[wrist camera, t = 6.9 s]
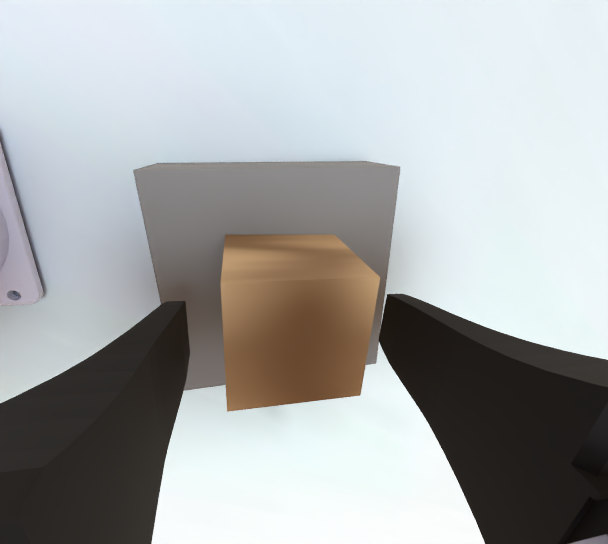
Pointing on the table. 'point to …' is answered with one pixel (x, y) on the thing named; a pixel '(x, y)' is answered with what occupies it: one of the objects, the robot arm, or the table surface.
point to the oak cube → (294, 319)
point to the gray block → (256, 231)
